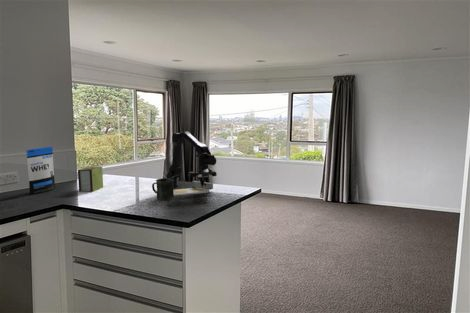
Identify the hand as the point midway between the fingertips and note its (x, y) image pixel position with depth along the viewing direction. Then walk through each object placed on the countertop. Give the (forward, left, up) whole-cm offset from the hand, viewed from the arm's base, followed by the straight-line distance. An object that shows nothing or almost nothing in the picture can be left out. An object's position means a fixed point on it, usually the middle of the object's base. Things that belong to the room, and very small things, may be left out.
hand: (202, 186), depth 239 cm
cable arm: (-4, +1, -2) cm, 5 cm away
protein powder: (-48, -101, -4) cm, 111 cm away
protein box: (-40, -70, -4) cm, 80 cm away
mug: (+8, -29, -4) cm, 30 cm away
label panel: (-3, -9, -4) cm, 10 cm away
